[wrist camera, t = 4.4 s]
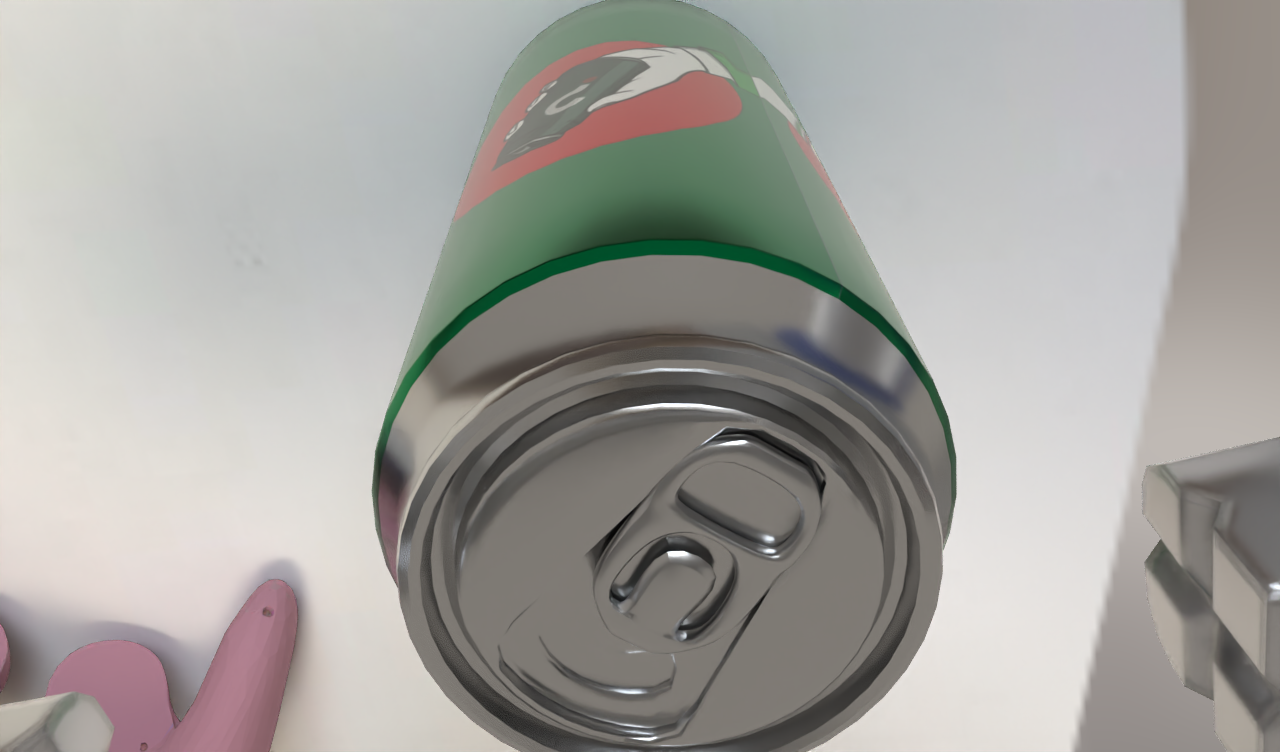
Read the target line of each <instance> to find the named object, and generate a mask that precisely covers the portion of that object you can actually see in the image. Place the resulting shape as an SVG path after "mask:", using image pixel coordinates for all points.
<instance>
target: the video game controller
mask: <svg viewBox="0 0 1280 752" xmlns="http://www.w3.org/2000/svg"><path fill="white" fill-rule="evenodd" d="M297 618H298V609H297V602H296V598H295V596H294V593H293V591H292V589H291V588H290V587H289V586H288V585H287V584H286V583H285V582H284V581H282V580H279V579H275V580H269V581H267V582H265V583H264V584H262V585H261V586H259V587H258V588H257V589H256V590H255V592H254V593H253V594H252V595H251V596H250V597H249V599H248V600H247V601H246V603H245V604H244V606H243V607H242V608H241V610H240V611H239V613H238V614H237V616H236V617H235V618H234V620H233V621H232V623H231V624H230V626H229V628H228V629H227V631H226V633H225V634H224V637H223V639H222V641H221V643H220V645H219V648H218V650H217V652H216V654H215V657H214V659H213V661H212V663H211V665H210V668H209V670H208V672H207V674H206V677H205V679H204V681H203V683H202V685H201V688H200V690H199V692H198V694H197V696H196V699H195V701H194V703H193V704H192V706H191V707H190V709H189V710H188V712H187V713H186V715H185V716H184V718H183V719H182V721H181V722H180V721H179V719H178V718H177V717H176V715H175V714H174V711H173V708H172V705H171V701H170V695H169V689H168V684H167V680H166V675H165V672H164V669H163V667H162V664H161V662H160V660H159V659H158V658H157V656H156V655H155V654H154V653H153V652H151V651H150V650H149V649H147V648H146V647H144V646H142V645H140V644H137V643H133V642H130V641H122V640H108V641H101V642H96V643H91V644H89V645H86V646H84V647H81V648H79V649H78V650H76V651H74V652H73V653H71V654H70V655H69V656H68V657H67V658H66V659H65V660H64V661H62V662H61V663H60V664H59V665H58V666H57V668H56V670H55V672H54V674H53V675H52V677H51V679H50V681H49V684H48V687H47V691H46V695H45V697H46V696H52V695H57V694H62V693H68V692H73V691H75V692H79V693H82V694H86V695H90V696H94V697H95V698H96V700H97V701H98V703H99V704H100V706H101V707H102V709H103V710H104V712H105V713H106V715H107V716H108V718H109V719H110V721H111V722H112V724H113V725H114V727H115V729H114V733H113V737H112V740H111V744H110V748H109V752H269V751H270V748H271V744H272V740H273V736H274V732H275V728H276V724H277V720H278V716H279V712H280V708H281V703H282V699H283V694H284V690H285V685H286V681H287V676H288V672H289V667H290V663H291V658H292V654H293V649H294V644H295V637H296V631H297ZM9 671H10V649H9V644H8V641H7V637H6V634H5V631H4V629H3V627H2V625H1V624H0V693H1V691H2V690H3V688H4V686H5V684H6V682H7V679H8V675H9Z"/></svg>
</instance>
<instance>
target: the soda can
mask: <svg viewBox="0 0 1280 752" xmlns="http://www.w3.org/2000/svg"><path fill="white" fill-rule="evenodd" d="M956 495H957V493H956V453H955V448H954V443H953V438H952V434H951V429H950V424H949V419H948V415H947V413H946V410H945V408H944V406H943V403H942V401H941V398H940V396H939V394H938V391H937V389H936V386H935V384H934V382H933V379H932V377H931V375H930V373H929V371H928V369H927V367H926V365H925V363H924V362H923V360H922V358H921V356H920V354H919V352H918V350H917V348H916V346H915V344H914V342H913V340H912V338H911V336H910V334H909V332H908V330H907V328H906V327H905V325H904V323H903V321H902V319H901V317H900V315H899V313H898V311H897V309H896V307H895V305H894V303H893V301H892V299H891V297H890V295H889V293H888V291H887V290H886V288H885V286H884V284H883V282H882V280H881V278H880V276H879V274H878V272H877V270H876V268H875V266H874V264H873V262H872V260H871V258H870V256H869V255H868V253H867V251H866V249H865V247H864V245H863V243H862V241H861V239H860V237H859V235H858V233H857V231H856V229H855V227H854V225H853V223H852V221H851V219H850V218H849V216H848V214H847V212H846V210H845V208H844V206H843V204H842V202H841V200H840V198H839V196H838V194H837V192H836V190H835V188H834V186H833V184H832V183H831V181H830V179H829V177H828V175H827V173H826V171H825V169H824V167H823V165H822V163H821V161H820V159H819V157H818V155H817V153H816V151H815V149H814V147H813V146H812V144H811V142H810V140H809V138H808V136H807V134H806V132H805V130H804V128H803V126H802V124H801V122H800V120H799V118H798V116H797V114H796V112H795V111H794V109H793V107H792V105H791V103H790V101H789V99H788V97H787V95H786V93H785V91H784V89H783V87H782V85H781V83H780V81H779V79H778V77H777V76H776V74H775V73H774V71H773V70H772V68H771V66H770V65H769V63H768V62H767V60H766V59H765V57H764V56H763V55H762V54H761V52H760V51H759V50H758V49H757V48H756V47H755V46H754V45H753V44H752V42H751V41H750V40H749V39H748V38H747V37H746V36H744V35H743V34H742V33H741V32H739V31H738V30H737V29H736V28H734V27H733V26H732V25H730V24H729V23H728V22H726V21H724V20H723V19H721V18H719V17H717V16H715V15H714V14H712V13H710V12H708V11H706V10H704V9H701V8H698V7H695V6H693V5H690V4H687V3H684V2H681V1H675V0H605V1H602V2H599V3H596V4H593V5H590V6H586V7H583V8H581V9H579V10H577V11H575V12H573V13H571V14H569V15H567V16H565V17H563V18H561V19H559V20H557V21H556V22H555V23H553V24H552V25H551V26H549V27H548V28H547V29H545V30H544V31H542V32H541V33H540V34H538V35H537V36H536V37H535V38H534V39H533V40H532V41H531V42H530V44H529V45H528V46H527V47H526V48H525V49H524V50H523V51H522V52H521V53H520V54H519V56H518V57H517V59H516V60H515V61H514V63H513V64H512V66H511V67H510V68H509V70H508V71H507V73H506V75H505V77H504V79H503V81H502V83H501V85H500V87H499V89H498V92H497V94H496V96H495V99H494V102H493V105H492V108H491V111H490V113H489V116H488V119H487V122H486V125H485V128H484V131H483V134H482V137H481V139H480V142H479V145H478V148H477V151H476V154H475V157H474V160H473V163H472V166H471V168H470V171H469V174H468V177H467V180H466V183H465V186H464V189H463V192H462V194H461V197H460V200H459V203H458V206H457V209H456V212H455V215H454V218H453V221H452V223H451V226H450V229H449V232H448V235H447V238H446V241H445V244H444V247H443V249H442V252H441V255H440V258H439V261H438V264H437V267H436V270H435V273H434V276H433V278H432V281H431V284H430V287H429V290H428V293H427V296H426V299H425V302H424V304H423V307H422V310H421V313H420V316H419V319H418V322H417V325H416V328H415V330H414V333H413V336H412V339H411V342H410V345H409V348H408V351H407V354H406V357H405V359H404V362H403V365H402V368H401V371H400V374H399V377H398V380H397V383H396V385H395V388H394V391H393V394H392V397H391V400H390V403H389V406H388V409H387V412H386V415H385V419H384V422H383V426H382V429H381V433H380V436H379V440H378V443H377V447H376V450H375V460H374V472H373V483H372V497H373V507H374V517H375V527H376V532H377V535H378V538H379V542H380V545H381V548H382V552H383V555H384V559H385V562H386V565H387V567H388V569H389V571H390V573H391V575H392V577H393V579H394V581H395V583H396V585H397V587H398V593H399V600H400V605H401V608H402V612H403V615H404V619H405V622H406V625H407V629H408V632H409V636H410V639H411V640H412V642H413V644H414V646H415V648H416V650H417V652H418V654H419V656H420V658H421V660H422V662H423V664H424V666H425V668H426V669H427V671H428V672H429V673H430V675H431V676H432V677H433V679H434V680H435V681H436V683H437V684H438V685H439V687H440V688H441V689H442V691H443V692H444V693H445V695H446V696H447V697H448V698H449V699H450V700H451V701H452V702H453V703H454V704H455V705H456V706H457V707H458V708H459V709H460V710H461V711H462V712H464V713H465V714H466V715H467V716H468V717H469V718H470V719H471V720H472V721H473V722H475V723H476V724H477V725H479V726H480V727H482V728H483V729H484V730H486V731H487V732H489V733H490V734H491V735H493V736H494V737H496V738H497V739H498V740H500V741H501V742H503V743H505V744H507V745H509V746H511V747H513V748H515V749H517V750H519V751H520V752H807V751H809V750H811V749H813V748H815V747H817V746H819V745H821V744H823V743H825V742H827V741H828V740H830V739H831V738H833V737H834V736H835V735H837V734H838V733H840V732H841V731H843V730H844V729H846V728H847V727H849V726H850V725H852V724H853V723H855V722H856V721H858V720H859V719H860V718H861V717H862V716H863V715H864V714H865V713H866V712H868V711H869V710H870V709H871V708H872V707H873V706H874V705H875V704H876V703H878V702H879V701H880V700H881V699H882V698H883V697H884V696H885V695H886V694H887V693H888V691H889V690H890V689H891V688H892V686H893V685H894V684H895V683H896V682H897V680H898V679H899V678H900V677H901V676H902V674H903V673H904V672H905V671H906V670H907V668H908V666H909V665H910V663H911V661H912V659H913V658H914V656H915V654H916V653H917V651H918V649H919V648H920V646H921V644H922V642H923V641H924V639H925V636H926V634H927V631H928V628H929V626H930V623H931V620H932V618H933V615H934V612H935V610H936V607H937V601H938V595H939V590H940V584H941V579H942V572H943V550H944V547H945V544H946V542H947V539H948V536H949V533H950V528H951V523H952V517H953V512H954V506H955V500H956Z"/></svg>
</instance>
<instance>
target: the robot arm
mask: <svg viewBox="0 0 1280 752" xmlns="http://www.w3.org/2000/svg"><path fill="white" fill-rule="evenodd" d="M1142 512H1143V515H1144V516H1145V517H1146V519H1147V520H1148V522H1149V523H1150V524H1151V526H1152V527H1153V528H1154V530H1155V531H1156V532H1157V534H1158V535H1159V537H1160V538H1161V540H1160V541H1159V542H1158V544H1157V545H1156V547H1155V548H1154V549H1153V551H1152V552H1151V554H1150V555H1149V557H1148V558H1147V559H1146V561H1145V576H1146V590H1147V600H1148V604H1149V607H1150V611H1151V615H1152V619H1153V622H1154V626H1155V630H1156V634H1157V636H1158V639H1159V641H1160V643H1161V645H1162V647H1163V649H1164V652H1165V654H1166V656H1167V658H1168V660H1169V662H1170V664H1171V665H1172V667H1173V668H1174V670H1175V672H1176V673H1177V675H1178V676H1179V678H1180V680H1181V681H1182V683H1183V684H1184V686H1185V687H1187V688H1189V689H1191V690H1193V691H1195V692H1197V693H1199V694H1201V695H1203V696H1205V697H1207V698H1209V699H1211V700H1213V701H1214V732H1215V733H1216V735H1217V737H1218V738H1219V739H1220V741H1221V743H1222V744H1223V746H1224V747H1225V749H1226V750H1227V752H1280V437H1277V438H1273V439H1268V440H1264V441H1259V442H1255V443H1250V444H1245V445H1241V446H1236V447H1232V448H1227V449H1222V450H1218V451H1213V452H1209V453H1204V454H1200V455H1195V456H1190V457H1186V458H1181V459H1177V460H1172V461H1168V462H1163V463H1159V464H1154V465H1149V466H1146V470H1145V474H1144V478H1143V482H1142ZM114 729H115V727H114V725H113V724H112V722H111V721H110V719H109V718H108V716H107V715H106V713H105V712H104V710H103V709H102V707H101V706H100V704H99V703H98V701H97V700H96V698H95V697H94V696H90V695H86V694H82V693H79V692H75V691H73V692H68V693H62V694H57V695H52V696H46V697H41V698H36V699H31V700H25V701H20V702H15V703H9V704H4V705H0V752H109V748H110V744H111V740H112V737H113V733H114Z"/></svg>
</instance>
